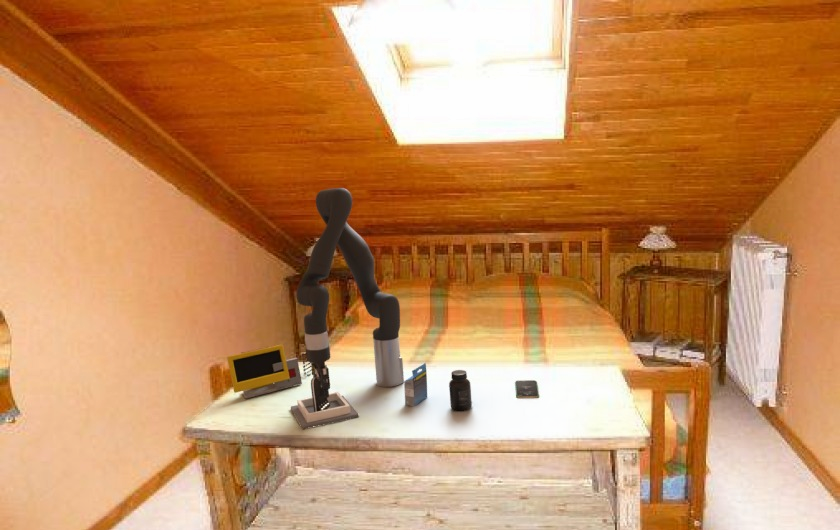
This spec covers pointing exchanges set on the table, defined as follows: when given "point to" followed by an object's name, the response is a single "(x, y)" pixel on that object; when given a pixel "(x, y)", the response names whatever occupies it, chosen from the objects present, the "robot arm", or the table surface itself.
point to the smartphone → (526, 389)
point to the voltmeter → (290, 373)
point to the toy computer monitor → (257, 370)
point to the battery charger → (318, 396)
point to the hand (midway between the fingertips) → (322, 393)
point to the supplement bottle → (460, 391)
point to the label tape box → (416, 386)
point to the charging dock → (323, 411)
